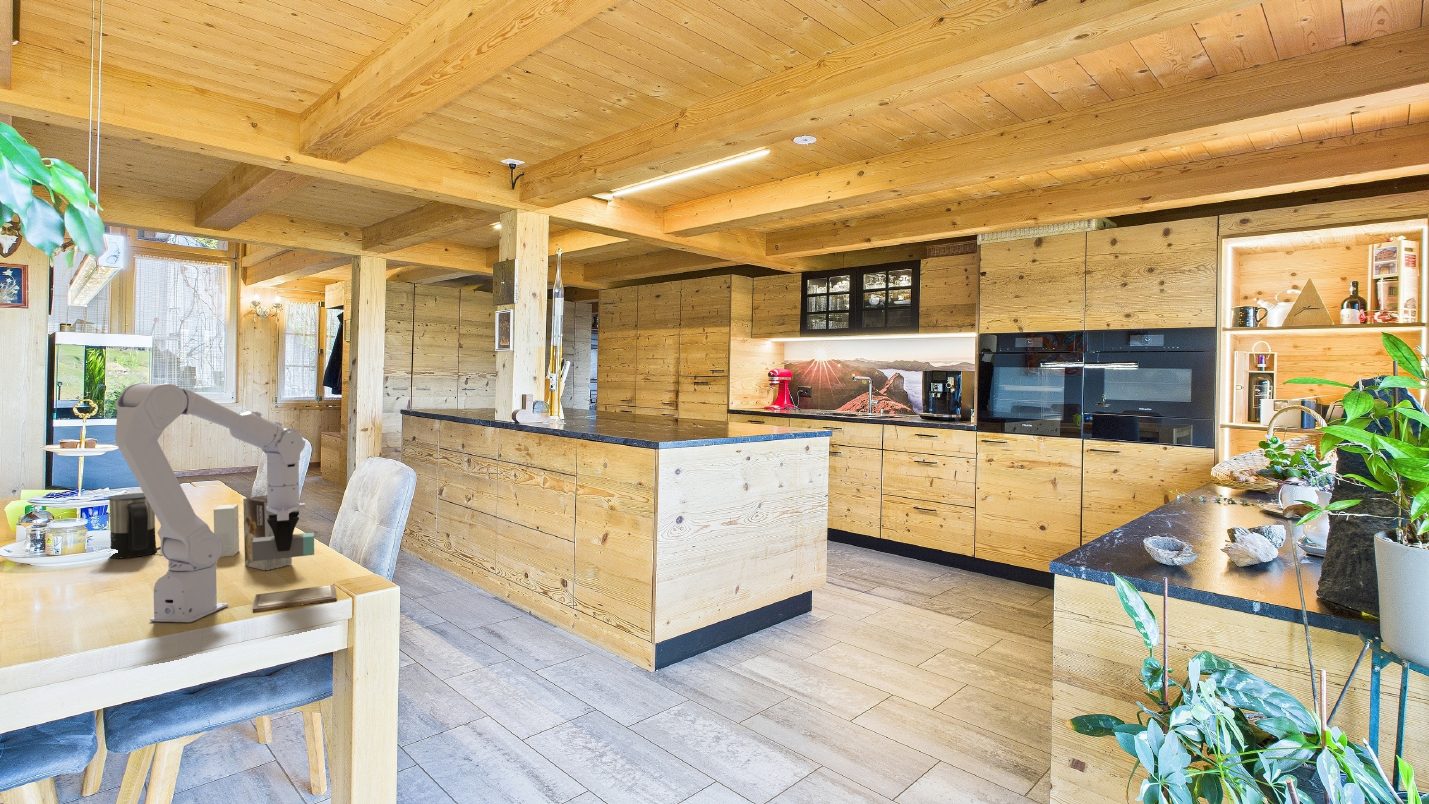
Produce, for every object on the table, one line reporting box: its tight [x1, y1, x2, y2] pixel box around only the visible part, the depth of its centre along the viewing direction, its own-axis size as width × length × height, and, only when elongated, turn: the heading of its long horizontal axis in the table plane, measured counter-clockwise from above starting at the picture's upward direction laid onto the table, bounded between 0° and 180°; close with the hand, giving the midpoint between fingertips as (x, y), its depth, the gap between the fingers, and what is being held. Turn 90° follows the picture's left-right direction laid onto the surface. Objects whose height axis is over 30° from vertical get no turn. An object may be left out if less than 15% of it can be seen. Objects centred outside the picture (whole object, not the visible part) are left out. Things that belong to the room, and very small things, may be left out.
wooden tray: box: [252, 584, 337, 613], centre depth 140 cm, size 14×10×1 cm
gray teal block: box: [252, 532, 315, 561], centre depth 147 cm, size 11×4×4 cm, turn 121°
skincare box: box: [213, 503, 240, 558], centre depth 173 cm, size 6×4×12 cm
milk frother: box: [107, 492, 161, 559], centre depth 174 cm, size 14×16×15 cm
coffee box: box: [242, 494, 293, 571], centre depth 164 cm, size 9×6×16 cm
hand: (284, 548), depth 147 cm, fingers closed on gray teal block, 4 cm apart
